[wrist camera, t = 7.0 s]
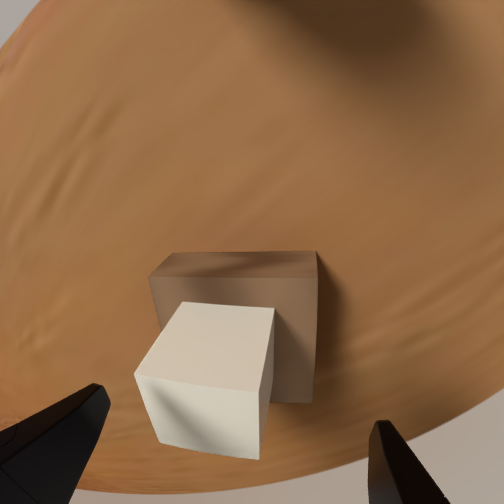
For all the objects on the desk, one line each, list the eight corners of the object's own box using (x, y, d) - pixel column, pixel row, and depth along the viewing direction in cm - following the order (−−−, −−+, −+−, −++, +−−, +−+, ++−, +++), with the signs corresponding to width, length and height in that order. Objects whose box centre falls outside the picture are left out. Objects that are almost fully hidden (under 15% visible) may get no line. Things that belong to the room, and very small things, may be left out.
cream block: (274, 308, 16) (258, 392, 10) (273, 377, 18) (259, 459, 12) (182, 301, 17) (134, 373, 11) (193, 369, 19) (159, 442, 13)
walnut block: (315, 248, 19) (318, 277, 15) (312, 363, 22) (312, 403, 18) (174, 250, 20) (148, 276, 17) (195, 358, 23) (179, 393, 20)
